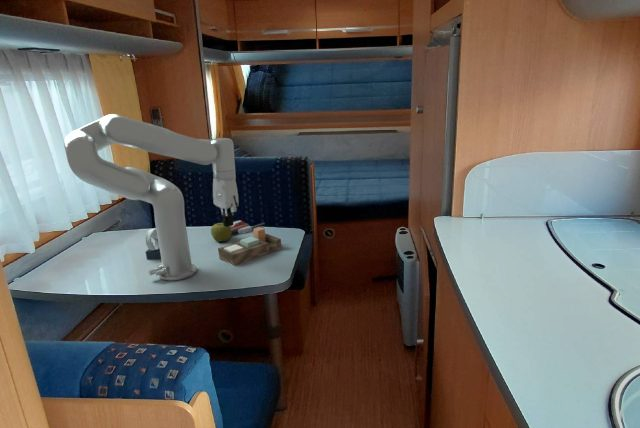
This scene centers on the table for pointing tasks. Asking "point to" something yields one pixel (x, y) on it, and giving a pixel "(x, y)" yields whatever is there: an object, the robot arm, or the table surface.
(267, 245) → the brown wooden tray
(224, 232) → the apple
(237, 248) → the button
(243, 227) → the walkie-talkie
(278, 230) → the table surface
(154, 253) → the white sculpture
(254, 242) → the button
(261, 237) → the slider
